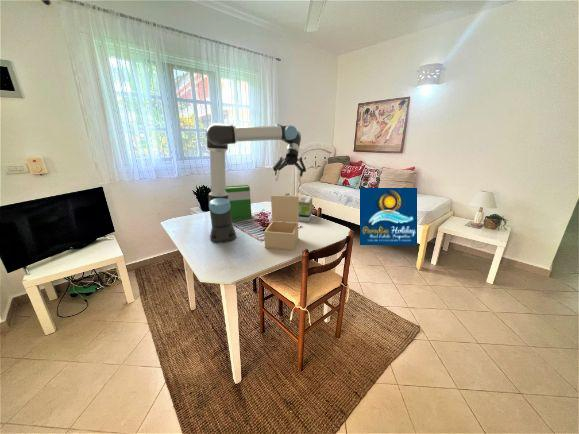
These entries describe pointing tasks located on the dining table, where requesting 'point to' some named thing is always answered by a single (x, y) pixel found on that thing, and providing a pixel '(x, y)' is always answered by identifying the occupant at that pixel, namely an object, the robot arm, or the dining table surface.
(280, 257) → the dining table surface
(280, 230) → the carton
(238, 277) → the dining table surface
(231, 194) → the green cereal box
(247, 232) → the dining table surface
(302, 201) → the tea box
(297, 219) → the carton lid
